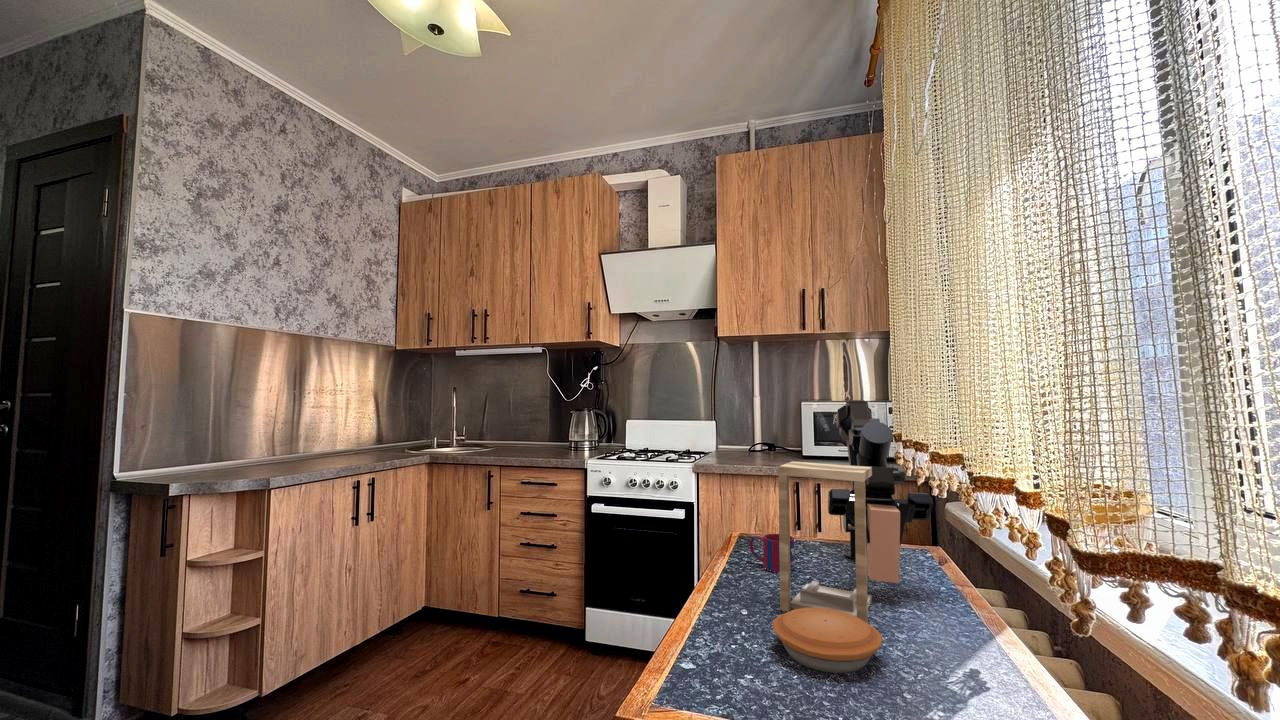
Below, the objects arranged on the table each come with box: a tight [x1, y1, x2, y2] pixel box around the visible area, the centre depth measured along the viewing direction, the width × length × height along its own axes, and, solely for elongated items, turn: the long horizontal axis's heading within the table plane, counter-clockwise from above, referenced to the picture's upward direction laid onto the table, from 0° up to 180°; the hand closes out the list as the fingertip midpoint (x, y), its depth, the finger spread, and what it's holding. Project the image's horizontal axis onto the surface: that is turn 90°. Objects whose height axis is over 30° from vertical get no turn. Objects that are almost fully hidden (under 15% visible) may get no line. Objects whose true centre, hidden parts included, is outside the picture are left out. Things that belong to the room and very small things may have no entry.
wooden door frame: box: [777, 461, 873, 624], centre depth 101 cm, size 14×14×26 cm
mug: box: [749, 533, 796, 573], centre depth 123 cm, size 7×10×7 cm
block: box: [867, 504, 901, 584], centre depth 104 cm, size 5×5×13 cm
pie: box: [772, 608, 883, 674], centre depth 82 cm, size 15×16×5 cm
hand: (884, 543), depth 102 cm, fingers closed on block, 5 cm apart
